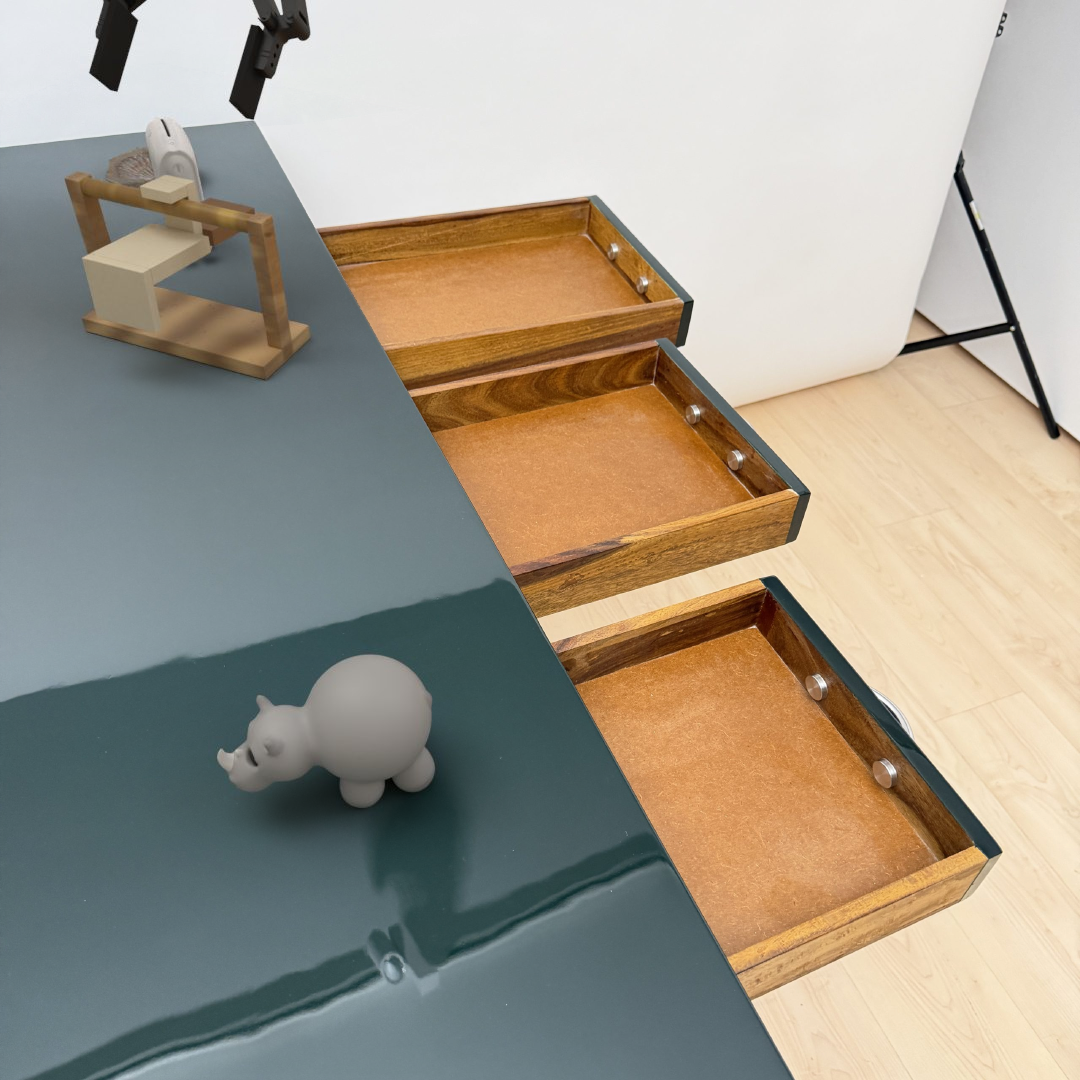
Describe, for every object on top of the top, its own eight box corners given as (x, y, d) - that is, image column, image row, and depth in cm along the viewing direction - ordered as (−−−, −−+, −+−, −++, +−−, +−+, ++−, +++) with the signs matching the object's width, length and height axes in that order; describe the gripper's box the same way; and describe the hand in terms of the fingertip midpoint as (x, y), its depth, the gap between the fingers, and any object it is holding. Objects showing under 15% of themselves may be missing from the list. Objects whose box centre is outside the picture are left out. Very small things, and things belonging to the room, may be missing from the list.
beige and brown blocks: (68, 206, 72) (198, 151, 85) (96, 318, 78) (213, 251, 91) (131, 221, 71) (253, 163, 83) (155, 333, 77) (265, 263, 90)
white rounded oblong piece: (218, 254, 99) (194, 139, 91) (177, 259, 98) (150, 144, 89) (201, 215, 106) (178, 105, 97) (163, 220, 104) (136, 108, 96)
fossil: (109, 211, 107) (100, 188, 105) (120, 168, 115) (111, 146, 113) (198, 201, 108) (191, 178, 106) (203, 159, 116) (196, 137, 114)
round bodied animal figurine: (227, 750, 55) (198, 664, 49) (418, 703, 58) (413, 616, 52) (240, 857, 50) (209, 776, 44) (448, 798, 53) (445, 715, 47)
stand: (85, 331, 87) (38, 191, 77) (138, 294, 92) (100, 158, 83) (266, 380, 83) (240, 238, 73) (310, 338, 88) (291, 201, 79)
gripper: (392, -94, 76) (322, 145, 76) (144, -130, 81) (79, 94, 82) (357, -167, 69) (279, 98, 69) (87, -201, 74) (15, 45, 74)
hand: (170, 97), depth 75 cm, fingers open, 13 cm apart
